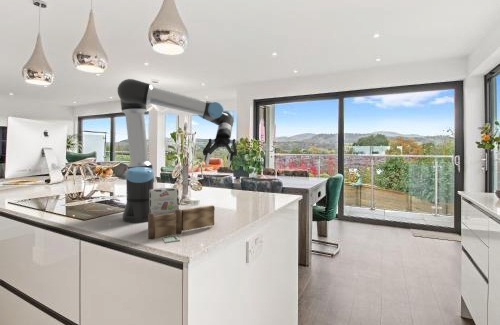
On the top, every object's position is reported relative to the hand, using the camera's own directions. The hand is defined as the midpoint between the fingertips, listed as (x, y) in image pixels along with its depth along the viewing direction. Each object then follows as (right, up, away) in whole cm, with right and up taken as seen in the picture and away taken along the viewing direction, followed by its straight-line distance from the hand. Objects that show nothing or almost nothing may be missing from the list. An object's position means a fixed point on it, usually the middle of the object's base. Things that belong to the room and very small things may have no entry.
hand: (217, 164), depth 133 cm
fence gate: (-5, -25, -20) cm, 33 cm away
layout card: (-13, -26, -33) cm, 44 cm away
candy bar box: (-19, -26, -19) cm, 38 cm away
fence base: (-16, -26, -29) cm, 42 cm away
